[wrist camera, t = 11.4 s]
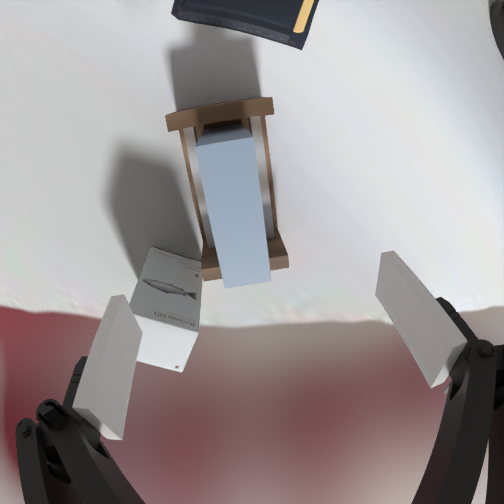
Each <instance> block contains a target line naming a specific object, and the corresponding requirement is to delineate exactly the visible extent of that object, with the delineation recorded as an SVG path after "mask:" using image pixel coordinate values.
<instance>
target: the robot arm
mask: <svg viewBox="0 0 504 504" xmlns="http://www.w3.org/2000/svg"><path fill="white" fill-rule="evenodd" d="M491 22H492V28H493V32H494V36H495V39H496V42H497V45H498V48H499V50H500V52H501V54H502V57H503V58H504V0H498V1H496V2H494V4H493V5H492V9H491ZM375 295H376V296H377V298H378V300H379V301H380V303H381V304H382V306H383V307H384V309H385V311H386V312H387V314H388V315H389V317H390V319H391V320H392V322H393V323H394V325H395V327H396V328H397V330H398V331H399V333H400V335H401V336H402V338H403V340H404V341H405V343H406V344H407V347H408V348H409V350H410V352H411V353H412V355H413V357H414V359H415V360H416V362H417V364H418V366H419V368H420V369H421V371H422V373H423V375H424V377H425V378H426V380H427V382H428V384H429V386H430V388H432V387H434V386H436V385H439V384H441V383H443V382H444V381H445V380H446V378H447V376H448V375H450V377H451V378H452V380H451V382H450V383H449V385H448V386H447V388H446V389H445V391H444V393H446V392H447V391H448V395H447V400H446V404H445V408H444V412H443V416H442V420H441V424H440V428H439V431H438V434H437V438H436V441H435V444H434V448H433V450H432V453H431V456H430V459H429V462H428V465H427V468H426V470H425V473H424V476H423V478H422V480H421V483H420V485H419V488H418V490H417V493H416V495H415V497H414V499H413V501H412V504H471V502H472V499H473V496H474V493H475V490H476V487H477V484H478V480H479V477H480V473H481V469H482V466H483V461H484V457H485V453H486V448H487V443H488V438H489V461H488V482H487V493H486V502H485V504H504V345H497V346H493V345H492V344H491V343H490V342H489V341H486V340H479V339H478V338H477V337H476V336H475V334H474V333H473V332H472V330H471V329H470V328H469V326H468V325H467V324H466V322H465V321H464V320H463V319H462V318H461V317H460V315H459V314H458V312H456V310H455V309H454V307H453V306H452V305H451V304H450V303H449V302H448V301H446V300H445V299H443V298H442V297H439V298H436V299H435V298H434V297H433V295H432V294H431V293H430V292H429V291H428V289H427V288H426V287H425V286H424V285H423V283H422V282H421V281H420V280H419V279H418V277H417V276H416V275H415V274H414V273H413V272H412V271H411V269H410V268H409V267H408V266H407V265H406V264H405V263H404V261H403V260H402V259H401V258H400V257H399V256H398V255H397V254H396V253H395V251H390V252H384V253H381V260H380V268H379V275H378V281H377V288H376V294H375ZM142 334H143V332H142V330H141V328H140V326H139V324H138V322H137V320H136V318H135V316H134V314H133V312H132V310H131V308H130V306H129V304H128V302H127V300H126V298H125V295H118V296H111V299H110V301H109V303H108V306H107V308H106V311H105V313H104V316H103V318H102V321H101V323H100V326H99V328H98V331H97V334H96V336H95V339H94V342H93V344H92V347H91V350H90V353H89V356H86V357H81V359H80V360H79V362H78V363H77V364H76V366H75V369H74V372H73V376H72V377H71V380H70V382H71V383H70V384H69V386H68V389H67V392H66V395H65V399H64V402H63V406H61V405H60V404H59V403H58V402H57V401H56V400H54V399H47V400H45V401H43V402H42V403H41V404H40V405H39V407H38V408H37V412H36V419H37V420H38V421H39V422H40V423H37V424H36V423H35V422H34V421H33V420H32V419H30V418H24V419H22V420H21V421H20V422H19V423H18V425H17V427H16V433H15V434H16V448H17V458H18V466H19V473H20V480H21V485H22V491H23V496H24V501H25V504H145V502H144V501H143V500H142V499H141V497H140V496H139V495H138V494H137V492H136V491H135V490H134V488H133V487H132V486H131V484H130V483H129V482H128V480H127V479H126V477H125V476H124V475H123V473H122V472H121V470H120V469H119V467H118V466H117V464H116V463H115V461H114V460H113V458H112V457H111V455H110V454H109V452H108V450H107V449H106V447H105V446H104V444H103V443H102V442H101V440H100V434H102V435H104V436H105V437H106V438H107V439H114V440H122V439H123V431H124V425H125V418H126V413H127V407H128V401H129V396H130V390H131V384H132V380H133V375H134V370H135V365H136V360H137V356H138V351H139V347H140V342H141V338H142Z"/></svg>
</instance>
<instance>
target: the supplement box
mask: <svg viewBox="0 0 504 504" xmlns="http://www.w3.org/2000/svg"><path fill="white" fill-rule="evenodd" d="M202 280H203V276H202V272H201V262H199V261H195V260H192V259H188V258H185V257H181V256H178V255H175V254H172V253H169V252H166V251H163V250H160V249H158V248H155V247H151V248H150V250H149V252H148V255H147V258H146V260H145V263H144V266H143V269H142V271H141V274H140V277H139V279H138V282H137V285H136V287H135V290H134V293H133V295H132V298H131V301H130V304H129V306H130V308H131V310H132V312H133V314H134V316H135V318H136V320H137V322H138V324H139V326H140V328H141V330H142V332H143V334H142V338H141V342H140V347H139V351H138V356H137V360H136V361H140V362H143V363H147V364H150V365H154V366H158V367H162V368H166V369H170V370H174V371H179V372H183V370H184V367H185V364H186V362H187V359H188V357H189V354H190V352H191V349H192V347H193V344H194V343H195V340H196V338H197V335H198V332H199V320H200V306H201V292H202Z"/></svg>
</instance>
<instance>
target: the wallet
mask: <svg viewBox="0 0 504 504" xmlns="http://www.w3.org/2000/svg"><path fill="white" fill-rule="evenodd" d="M318 2H319V0H175V1H174V4H173V8H172V12H171V14H172V15H173V16H175V17H176V18H177V19H178V20H183V21H188V22H193V23H199V24H206V25H211V26H217V27H222V28H227V29H232V30H236V31H241V32H244V33H248V34H252V35H255V36H259V37H262V38H266V39H269V40H272V41H275V42H279V43H282V44H285V45H289V46H292V47H294V48H297V49H300V50H302V48H303V46H304V44H305V41H306V39H307V36H308V33H309V30H310V26H311V23H312V19H313V16H314V13H315V10H316V7H317V5H318Z"/></svg>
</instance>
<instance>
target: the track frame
mask: <svg viewBox="0 0 504 504" xmlns="http://www.w3.org/2000/svg"><path fill="white" fill-rule="evenodd" d="M272 114H274V108H273V100H272V97H260V98H251V99H243V100H236V101H230V102H223V103H217V104H211V105H206V106H200V107H195V108H190V109H185V110H181V111H176V112H173V113H170V114H168V115H165V118H166V123H167V128H168V132H170V131H175V130H179V132H180V138H181V143H182V148H183V153H184V158H185V163H186V167H187V172H188V177H189V182H190V186H191V191H192V195H193V200H194V204H195V209H196V213H197V218H198V222H199V226H200V230H201V235H202V239H203V249H202V261H201V272H202V276H203V280H204V281H210V280H216V279H222V273H221V269H220V265H219V260H218V256H217V251H216V247H215V242H214V238H213V233H212V229H211V224H210V219H209V215H208V210H207V205H206V200H205V195H204V191H203V186H202V181H201V176H200V171H199V166H198V160H197V155H196V150H195V146H196V144H197V142H198V140H199V138H200V136H201V134H202V132H203V130H204V129H209V128H215V127H221V126H227V125H233V124H240V123H242V124H243V125H244V126H245V127H246V129H247V130H248V131H249V132H250V134H251V135H252V136H253V138H254V145H255V153H256V160H257V168H258V175H259V183H260V191H261V199H262V207H263V215H264V223H265V231H266V239H267V247H268V256H269V264H270V271H271V270H277V269H282V268H288V267H289V260H288V254H287V251H286V249H285V246H284V244H283V241H282V239H281V236H280V234H279V231H278V228H277V218H276V208H275V199H274V190H273V181H272V172H271V163H270V154H269V146H268V138H267V130H266V122H265V115H272Z"/></svg>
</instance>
